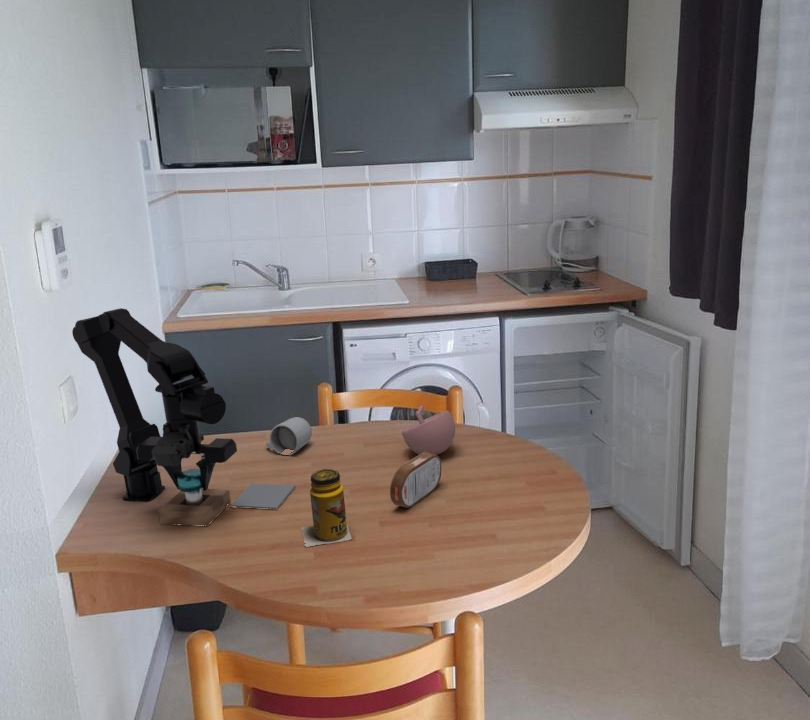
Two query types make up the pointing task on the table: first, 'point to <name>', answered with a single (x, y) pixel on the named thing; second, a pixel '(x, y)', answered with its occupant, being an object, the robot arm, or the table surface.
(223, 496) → the eye block
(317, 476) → the condiment
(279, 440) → the ceramic mug
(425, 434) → the mortar and pestle
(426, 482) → the tin
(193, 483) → the teal topped white bottle
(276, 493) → the slate mat
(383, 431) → the table surface
